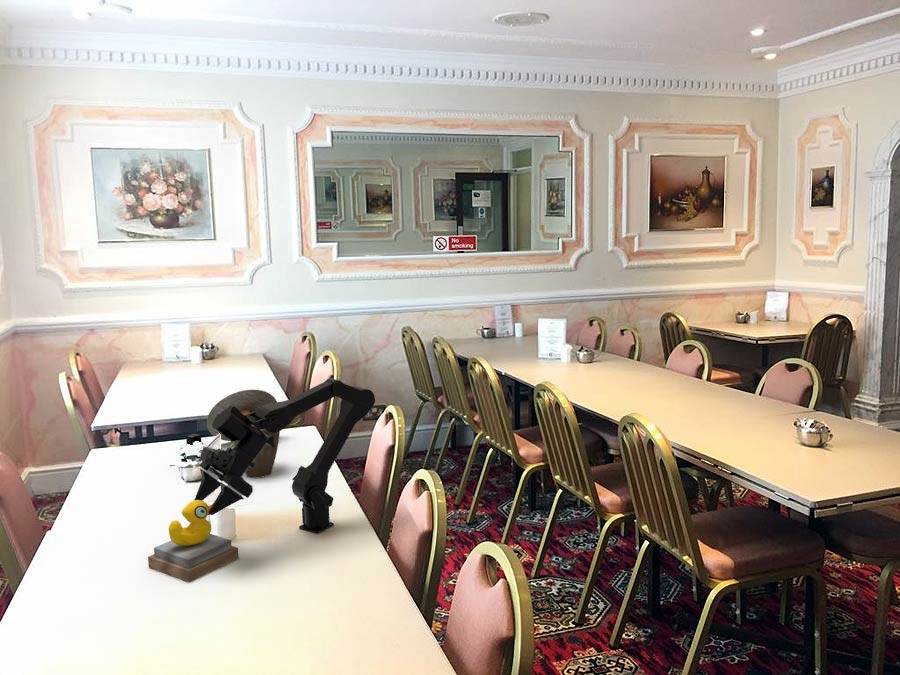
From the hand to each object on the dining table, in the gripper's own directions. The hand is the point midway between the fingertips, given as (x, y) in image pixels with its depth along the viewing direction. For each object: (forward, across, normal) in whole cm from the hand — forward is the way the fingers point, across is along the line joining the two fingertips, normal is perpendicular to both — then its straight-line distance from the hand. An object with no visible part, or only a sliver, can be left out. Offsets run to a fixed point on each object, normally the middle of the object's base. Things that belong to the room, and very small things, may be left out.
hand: (202, 508), depth 175 cm
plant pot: (-16, -50, +34) cm, 62 cm away
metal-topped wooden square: (+11, 0, +7) cm, 13 cm away
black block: (-12, -93, +31) cm, 99 cm away
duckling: (+7, 0, +4) cm, 8 cm away
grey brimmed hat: (-22, -81, +41) cm, 93 cm away
